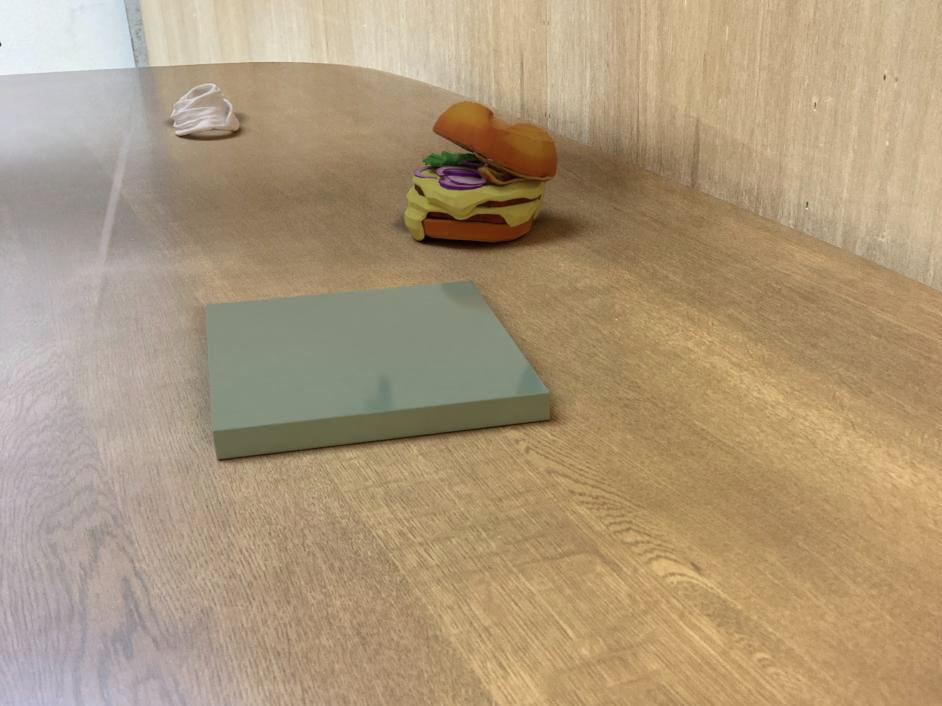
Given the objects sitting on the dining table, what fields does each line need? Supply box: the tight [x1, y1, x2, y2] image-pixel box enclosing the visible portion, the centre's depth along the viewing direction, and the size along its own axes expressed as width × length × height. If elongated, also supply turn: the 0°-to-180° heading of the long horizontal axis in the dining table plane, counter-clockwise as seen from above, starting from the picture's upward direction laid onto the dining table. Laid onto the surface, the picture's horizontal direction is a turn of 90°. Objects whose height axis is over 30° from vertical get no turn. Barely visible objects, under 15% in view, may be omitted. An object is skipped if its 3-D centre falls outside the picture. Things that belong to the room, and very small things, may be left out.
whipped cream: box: [170, 83, 240, 136], centre depth 116 cm, size 8×7×5 cm
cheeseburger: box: [403, 100, 558, 243], centre depth 83 cm, size 10×11×10 cm
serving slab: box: [204, 280, 551, 460], centre depth 62 cm, size 18×16×2 cm
